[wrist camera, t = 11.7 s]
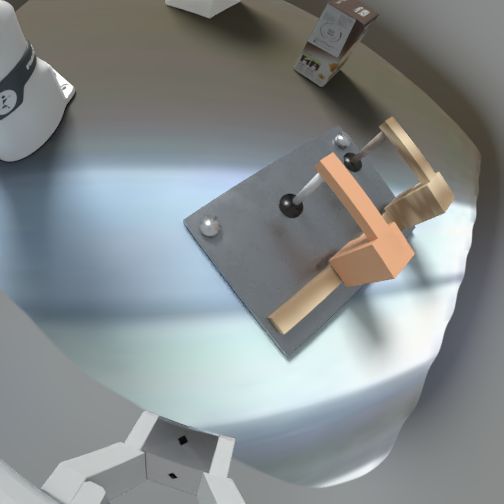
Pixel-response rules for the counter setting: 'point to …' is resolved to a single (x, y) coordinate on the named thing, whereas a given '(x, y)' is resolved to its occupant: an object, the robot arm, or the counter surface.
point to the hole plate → (286, 233)
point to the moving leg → (371, 223)
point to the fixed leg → (399, 211)
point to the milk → (202, 6)
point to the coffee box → (334, 39)
